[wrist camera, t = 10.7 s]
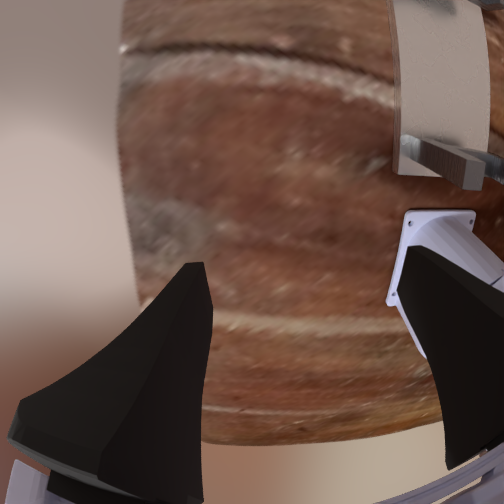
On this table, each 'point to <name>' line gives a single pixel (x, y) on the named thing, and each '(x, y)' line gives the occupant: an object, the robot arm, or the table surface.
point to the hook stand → (442, 91)
